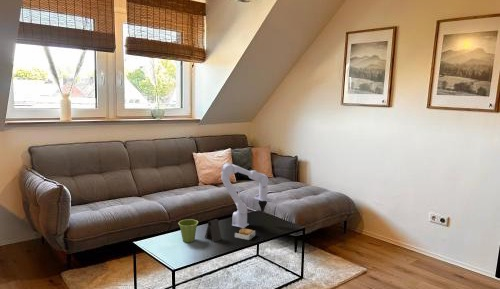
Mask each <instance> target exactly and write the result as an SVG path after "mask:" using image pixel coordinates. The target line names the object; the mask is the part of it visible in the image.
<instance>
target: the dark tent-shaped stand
mask: <svg viewBox="0 0 500 289" xmlns="http://www.w3.org/2000/svg"><path fill="white" fill-rule="evenodd" d="M219 223H220V221H219V219H217V218H216V219H215V218H214V219H212V220H208V222H207V226H206V227H207V228H206V231H205V235H204V239H205V240H208V241H211V242H212V243H216V242H218V241H221V240H222V234H221V230H220V225H219Z"/></svg>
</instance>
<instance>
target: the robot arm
mask: <svg viewBox="0 0 500 289" xmlns="http://www.w3.org/2000/svg"><path fill="white" fill-rule="evenodd" d="M237 173H239V174H242V175H246V176H248V178H249V179H251V180H253V181H256V182H259V184H258V185H259V186H258V196H253V197H252V201H257V203H258V205H259V207H260V211H261V213H264V212H265V209H266V206H267V204H268V203H271V204H273V203H274V202H275V201H274V198H268V191H269V190H268V188H269V187H268V184H269V181H270V180H269V177H268V176H267V175H266V174H265V173H263V172H259V171H257V170H255V169H254V170H248V169H246V168H244V167H242V166H239V165H236V164H232V163H230V162H226V163H224V164H223V166H222V168H221V177H220V178H221V182H222V183H223V186H224V187H225V188H226V191H227V192H228V194H229V195H230V197H231V198H232V200H233V202H234V204H235V205H236V206H235V207H236V209H237V210H236V211H234V212H233V213H232V222H231V226H232V227H238V228H240V229H242V228H244V229H246V227H247V226H249V225H250V224H249V223H248V207H247V205H246V203H245V202H244V201H243V200H242V199H241V197H240V196H239V194H238V193H237V190H236V188H235V187H234V186H233V184H232V183H231V181H230V178H231V175H232V174H237Z"/></svg>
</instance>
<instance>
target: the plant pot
mask: <svg viewBox="0 0 500 289" xmlns="http://www.w3.org/2000/svg"><path fill="white" fill-rule="evenodd" d="M198 224H199V221H198V220H196V219H192V218H191V219H189V218H188V219H182V220H180V221H179V222H178V225H179V226H178V227H179V228H180V233H181V234H180V235H181V239H182V242H184V243H192V242H194V241H195V240H196V232H197V227H198Z"/></svg>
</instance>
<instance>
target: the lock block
mask: <svg viewBox="0 0 500 289" xmlns="http://www.w3.org/2000/svg"><path fill="white" fill-rule="evenodd" d="M240 229H241V230H240ZM240 229H239V230H238V233H240V234H245V235H248V234H250V233H251V232H252V231H254V230H253V229H249V228H240Z"/></svg>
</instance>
